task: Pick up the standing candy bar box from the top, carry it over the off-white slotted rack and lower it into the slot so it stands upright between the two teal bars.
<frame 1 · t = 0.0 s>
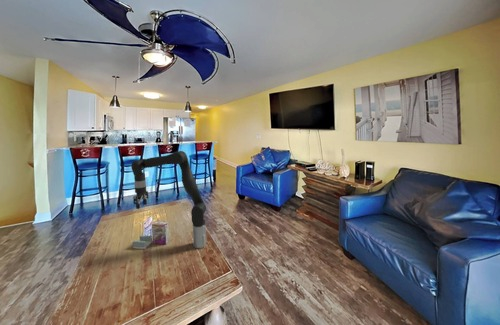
hand: (141, 206, 146), 29 cm above the table, tool pointing down, fingers open, 8 cm apart
slotted rack: (142, 244, 145), on the table
candy bar box: (161, 242, 149), on the table
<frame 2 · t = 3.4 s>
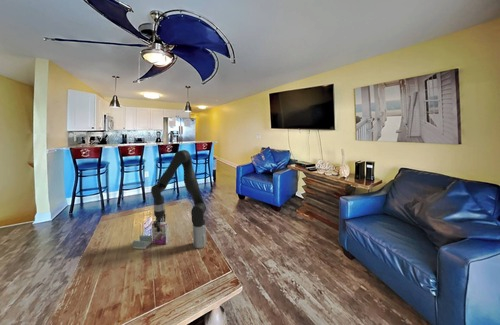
hand: (160, 229, 147), 11 cm above the table, tool pointing down, fingers closed on candy bar box, 5 cm apart
candy bar box: (161, 242, 149), on the table, touching gripper
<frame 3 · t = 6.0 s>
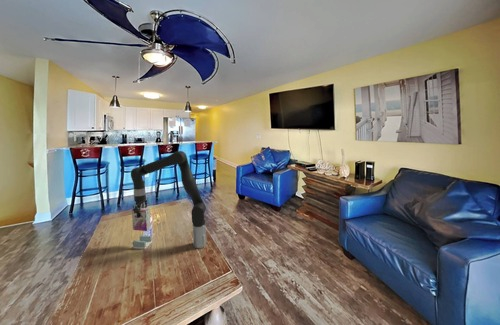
hand: (141, 215, 142), 24 cm above the table, tool pointing down, fingers closed on candy bar box, 5 cm apart
candy bar box: (142, 229, 144), point 13 cm above the table, touching gripper
when the fingers open (13 cm above the table, at t = 8.7 s): candy bar box stays where it is, resting on slotted rack.
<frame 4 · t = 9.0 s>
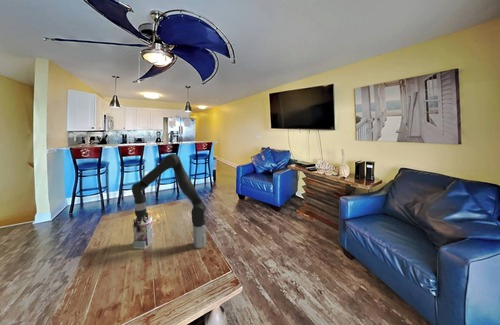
hand: (141, 228, 143), 13 cm above the table, tool pointing down, fingers open, 7 cm apart
candy bar box: (142, 243, 145), point 1 cm above the table, touching slotted rack
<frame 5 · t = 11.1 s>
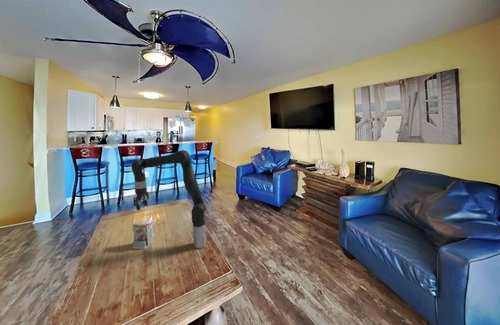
hand: (142, 207, 141), 30 cm above the table, tool pointing down, fingers open, 8 cm apart
nothing on the table moved.
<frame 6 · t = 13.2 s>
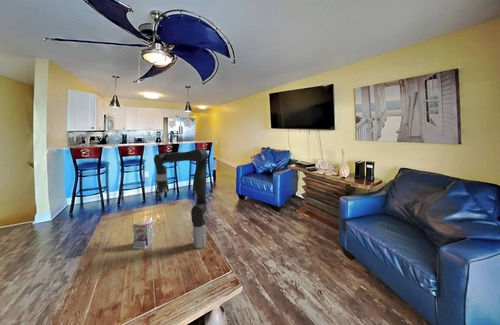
hand: (163, 199, 148), 34 cm above the table, tool pointing down, fingers open, 8 cm apart
nothing on the table moved.
at the end: candy bar box 0.1 cm off-centre on the slotted rack, point 1.0 cm above the slotted rack's base; candy bar box tilted 0°; the gripper is holding nothing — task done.
